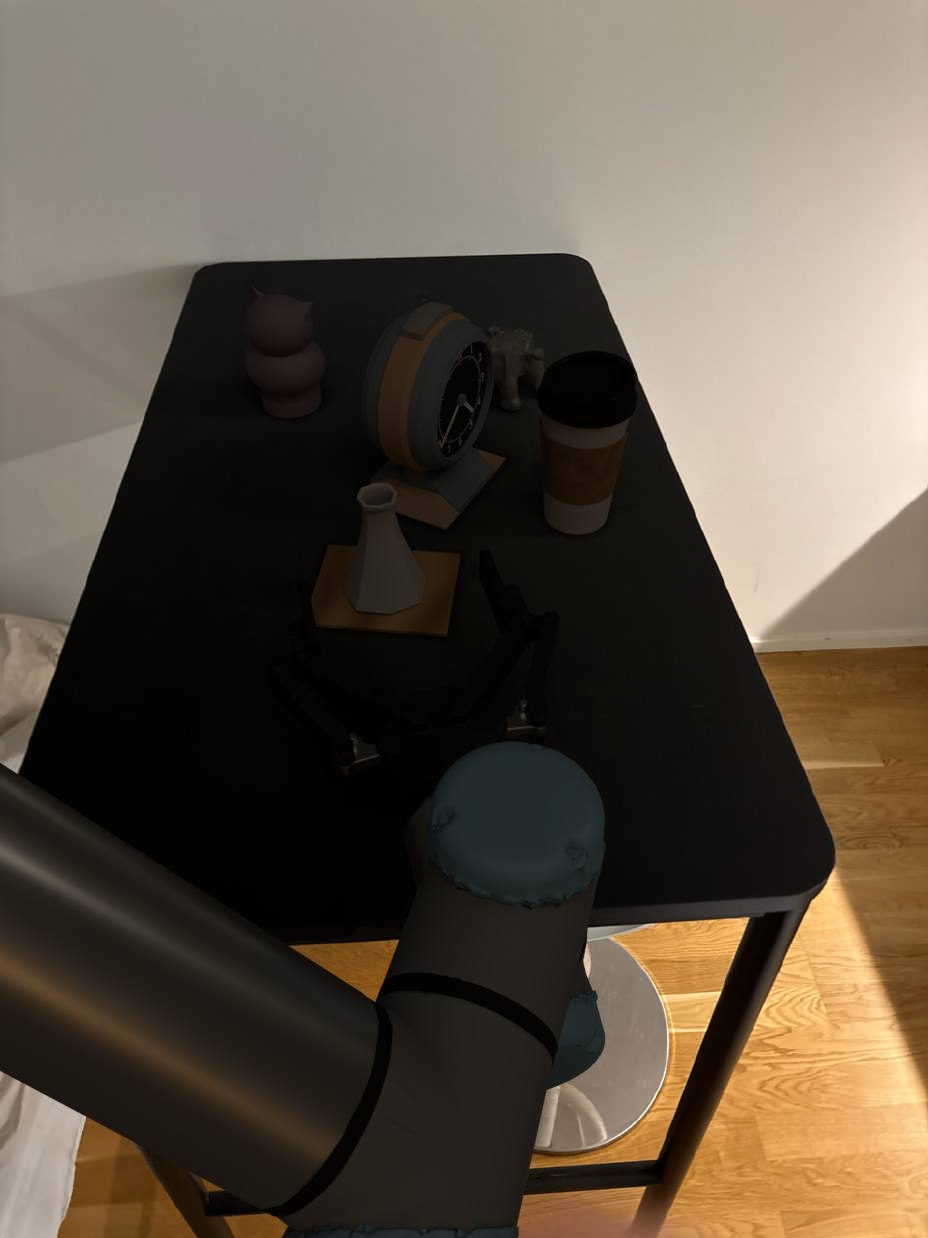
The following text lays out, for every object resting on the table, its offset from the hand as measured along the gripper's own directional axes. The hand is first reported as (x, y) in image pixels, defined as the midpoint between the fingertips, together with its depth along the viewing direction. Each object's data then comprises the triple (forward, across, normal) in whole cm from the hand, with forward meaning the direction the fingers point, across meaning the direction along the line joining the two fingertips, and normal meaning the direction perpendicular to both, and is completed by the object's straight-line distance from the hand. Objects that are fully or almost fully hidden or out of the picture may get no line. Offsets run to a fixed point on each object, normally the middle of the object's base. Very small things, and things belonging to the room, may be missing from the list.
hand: (395, 577), depth 73 cm
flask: (+8, 0, -9) cm, 12 cm away
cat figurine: (+40, -4, -9) cm, 41 cm away
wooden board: (+8, 0, -9) cm, 12 cm away
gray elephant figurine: (+34, +17, -9) cm, 39 cm away
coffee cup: (+14, +19, -9) cm, 25 cm away
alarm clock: (+22, +8, -9) cm, 25 cm away
